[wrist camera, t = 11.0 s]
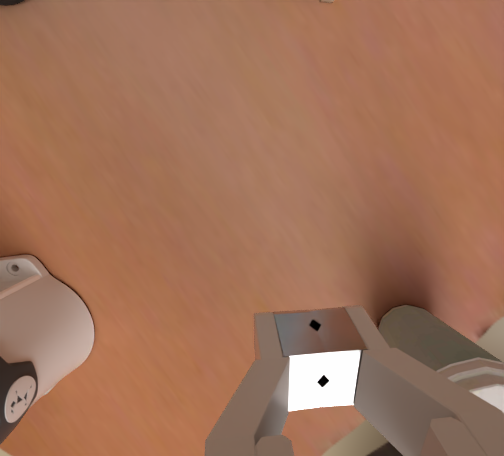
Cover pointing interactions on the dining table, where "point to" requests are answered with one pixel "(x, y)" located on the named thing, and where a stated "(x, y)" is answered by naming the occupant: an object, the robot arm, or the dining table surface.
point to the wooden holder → (329, 0)
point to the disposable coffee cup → (445, 352)
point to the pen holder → (10, 2)
